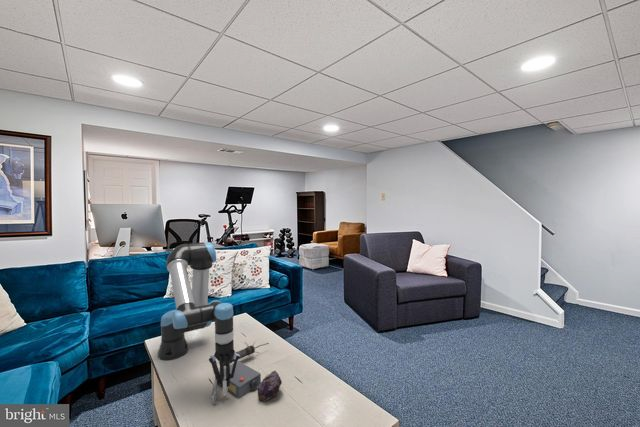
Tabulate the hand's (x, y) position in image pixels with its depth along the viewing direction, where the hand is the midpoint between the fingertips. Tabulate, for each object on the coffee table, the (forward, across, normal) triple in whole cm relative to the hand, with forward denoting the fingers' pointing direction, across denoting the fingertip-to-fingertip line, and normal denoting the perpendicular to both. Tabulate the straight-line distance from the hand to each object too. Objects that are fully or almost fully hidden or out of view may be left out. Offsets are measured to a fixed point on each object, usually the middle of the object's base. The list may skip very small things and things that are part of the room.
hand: (225, 393), depth 121 cm
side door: (+2, +5, -3) cm, 6 cm away
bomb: (+2, -5, -28) cm, 29 cm away
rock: (+2, -20, +1) cm, 20 cm away
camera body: (+2, -4, -9) cm, 10 cm away
